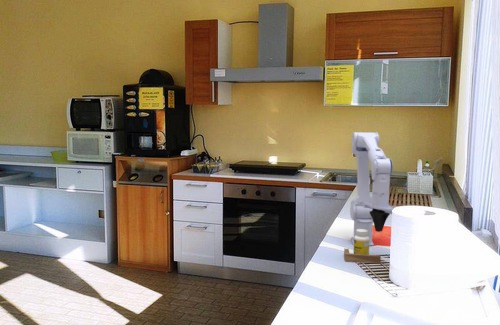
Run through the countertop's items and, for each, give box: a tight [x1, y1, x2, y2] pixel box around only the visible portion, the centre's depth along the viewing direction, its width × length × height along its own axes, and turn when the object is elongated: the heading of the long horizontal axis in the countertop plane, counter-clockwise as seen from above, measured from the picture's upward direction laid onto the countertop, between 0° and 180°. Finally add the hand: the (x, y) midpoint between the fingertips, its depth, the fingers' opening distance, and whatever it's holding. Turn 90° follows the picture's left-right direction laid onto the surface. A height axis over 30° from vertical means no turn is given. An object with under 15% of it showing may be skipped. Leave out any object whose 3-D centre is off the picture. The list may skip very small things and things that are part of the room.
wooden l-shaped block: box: [343, 248, 382, 264], centre depth 172 cm, size 8×12×2 cm, turn 82°
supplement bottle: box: [353, 229, 370, 255], centre depth 174 cm, size 5×5×10 cm
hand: (378, 231), depth 171 cm, fingers closed
